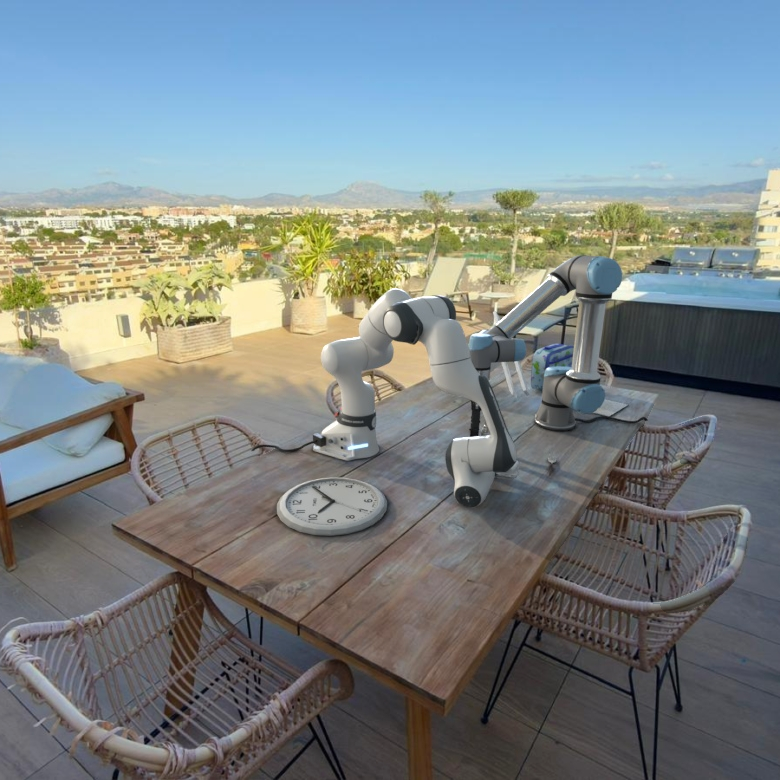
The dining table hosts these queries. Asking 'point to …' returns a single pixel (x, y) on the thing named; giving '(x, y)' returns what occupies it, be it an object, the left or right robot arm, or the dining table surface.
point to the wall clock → (331, 506)
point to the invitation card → (609, 408)
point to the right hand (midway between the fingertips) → (473, 444)
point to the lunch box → (549, 362)
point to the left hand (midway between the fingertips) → (488, 453)
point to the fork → (551, 462)
